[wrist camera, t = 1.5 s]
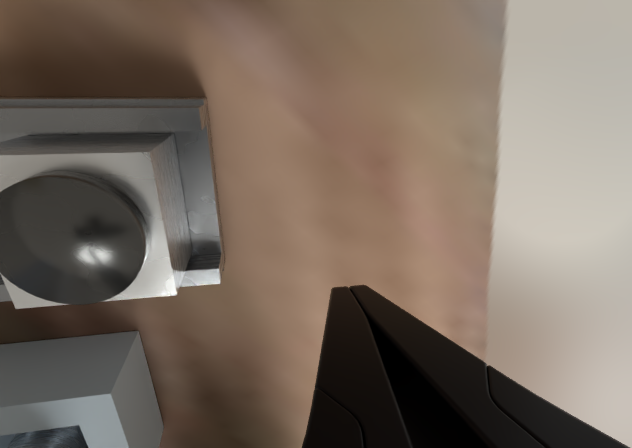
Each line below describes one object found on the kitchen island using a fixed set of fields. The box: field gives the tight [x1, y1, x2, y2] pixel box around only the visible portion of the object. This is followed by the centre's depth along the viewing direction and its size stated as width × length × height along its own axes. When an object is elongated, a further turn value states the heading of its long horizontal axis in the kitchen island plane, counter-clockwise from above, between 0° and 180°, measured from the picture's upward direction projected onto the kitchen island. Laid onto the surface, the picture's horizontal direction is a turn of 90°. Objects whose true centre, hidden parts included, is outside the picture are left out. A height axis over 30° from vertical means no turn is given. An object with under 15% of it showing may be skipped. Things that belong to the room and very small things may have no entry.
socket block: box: [0, 331, 164, 448], centre depth 18 cm, size 8×8×4 cm
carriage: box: [0, 134, 192, 309], centre depth 12 cm, size 5×5×4 cm
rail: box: [0, 97, 225, 302], centre depth 13 cm, size 14×8×3 cm, turn 89°
